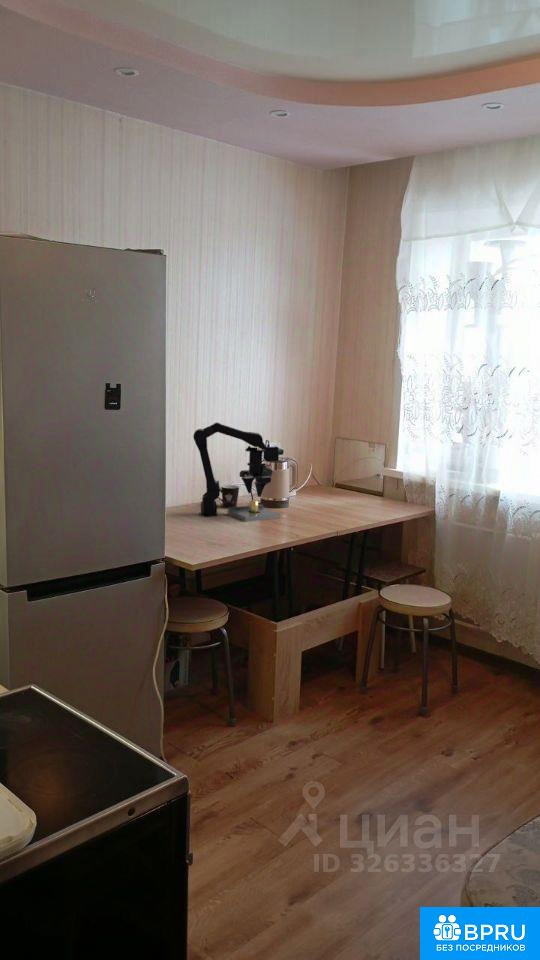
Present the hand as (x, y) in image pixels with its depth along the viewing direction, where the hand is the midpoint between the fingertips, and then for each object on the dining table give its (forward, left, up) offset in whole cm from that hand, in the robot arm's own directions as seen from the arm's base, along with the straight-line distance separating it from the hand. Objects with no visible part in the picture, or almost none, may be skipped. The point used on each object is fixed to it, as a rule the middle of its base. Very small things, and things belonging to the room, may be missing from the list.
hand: (254, 495), depth 355 cm
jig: (0, 0, -10) cm, 10 cm away
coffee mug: (-1, +23, -10) cm, 25 cm away
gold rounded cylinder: (0, 0, -10) cm, 10 cm away
